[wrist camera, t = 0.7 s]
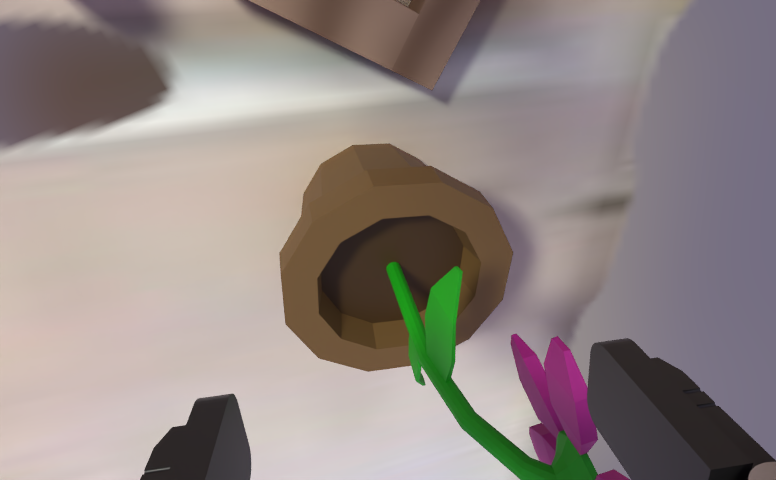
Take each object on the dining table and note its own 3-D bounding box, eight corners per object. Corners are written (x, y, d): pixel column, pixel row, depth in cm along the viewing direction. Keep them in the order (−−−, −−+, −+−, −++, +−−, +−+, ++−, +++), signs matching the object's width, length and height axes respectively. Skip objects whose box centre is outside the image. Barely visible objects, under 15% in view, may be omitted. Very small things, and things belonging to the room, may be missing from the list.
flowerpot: (468, 249, 42) (751, 706, 18) (308, 299, 42) (378, 847, 17) (444, 89, 34) (908, 537, 10) (243, 148, 33) (204, 795, 9)
